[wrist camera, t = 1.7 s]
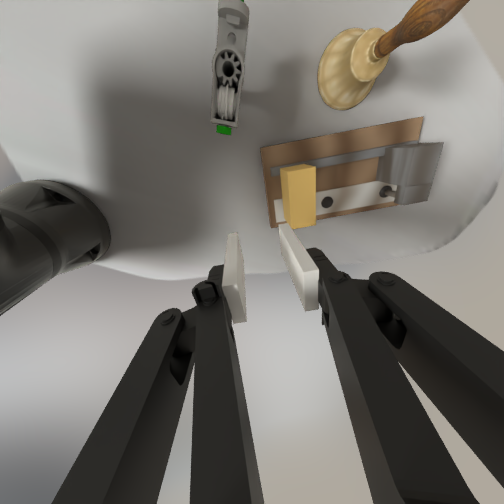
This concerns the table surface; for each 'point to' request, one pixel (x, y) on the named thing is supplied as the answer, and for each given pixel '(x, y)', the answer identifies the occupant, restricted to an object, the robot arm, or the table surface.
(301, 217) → the block
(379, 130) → the board
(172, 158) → the table surface
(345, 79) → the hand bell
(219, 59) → the mechanical component
